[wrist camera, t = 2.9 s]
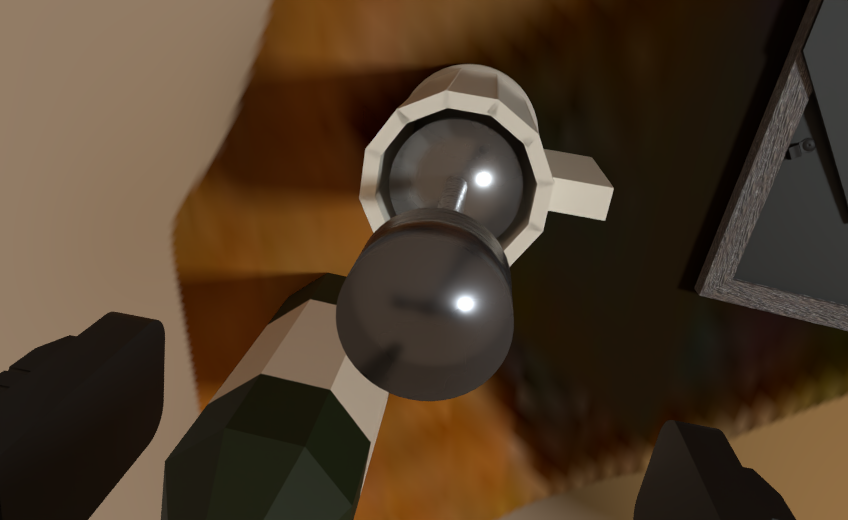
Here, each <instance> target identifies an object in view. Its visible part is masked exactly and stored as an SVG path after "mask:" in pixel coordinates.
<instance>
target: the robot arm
mask: <svg viewBox="0 0 848 520" xmlns="http://www.w3.org/2000/svg"><path fill="white" fill-rule="evenodd" d="M164 352H165V331H164V327H163V324H162V323H161V322H160V321H159V320H154V319H149V318H144V317H139V316H134V315H129V314H123V313H118V312H110V313H107V314H106V315H104V316H103V317H102V318H101V319H99V320H98V321H97V322H95V323H94V324H93V325H91V326H90V327H89V328H88V329H86V330H85V331H83V332H82V333H81V334H79V335H78V336H71V335H69V336H67V337H64V338H61V339H59V340H56V341H54V342H51V343H48V344H45V345H43V346H40V347H37V348H35V349H34V350H32V351H31V352H29V353H28V354H27V355H25V356H24V357H22V358H21V359H20V360H18V361H17V362H16V363H14V364H13V365H11V366H10V367H9V370H8V371H3V372H1V373H0V520H88V519H89V518H90V516H91V515H92V514H93V513H94V512H95V510H96V509H97V508H98V507H99V505H100V504H101V503H102V502H103V500H104V499H105V497H106V496H107V495H108V494H109V493H110V492H111V490H112V489H113V488H114V487H115V486H116V484H117V483H118V482H119V481H120V479H121V478H122V477H123V476H124V474H125V473H126V472H127V471H128V470H129V468H130V467H131V466H132V465H133V463H134V462H135V461H136V460H137V458H138V457H139V456H140V455H141V453H142V452H143V451H144V450H145V449H146V447H147V446H148V445H149V443H150V442H151V440H152V439H153V437H154V435H155V433H156V431H157V428H158V426H159V423H160V420H161V416H162V411H163V401H164V399H163V398H164V354H165V353H164ZM633 519H634V520H796V519H795V517H794V516H793V514H792V512H791V511H790V509H789V508H788V506H787V504H786V503H785V501H784V499H783V498H782V496H781V495H780V494H779V493H778V492H777V491H776V490H775V489H774V488H772V487H771V485H769V484H768V483H767V482H766V481H765V480H764V479H763V478H762V477H761V476H760V475H759V474H758V473H757V472H755V471H754V470H753V469H750V468H745V467H742V465H741V463H740V462H739V460H738V458H737V456H736V455H735V453H734V451H733V449H732V447H731V446H730V444H729V442H728V440H727V438H726V437H725V435H724V434H723V432H722V431H721V430H719V429H716V428H710V427H705V426H700V425H695V424H690V423H684V422H679V421H674V420H668V421H667V422H666V423H665V424H664V425H663V427H662V428H661V431H660V433H659V436H658V439H657V442H656V444H655V447H654V450H653V453H652V456H651V459H650V462H649V465H648V468H647V470H646V473H645V476H644V479H643V482H642V485H641V488H640V491H639V494H638V496H637V500H636V504H635V509H634V518H633Z"/></svg>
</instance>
